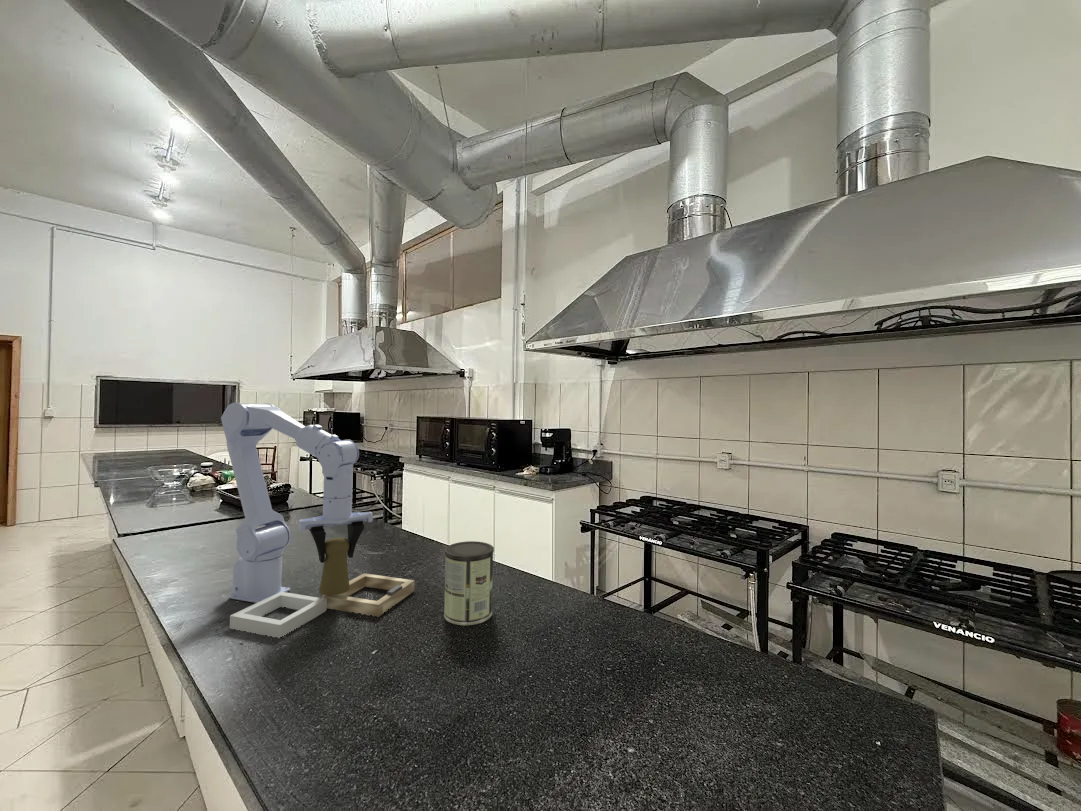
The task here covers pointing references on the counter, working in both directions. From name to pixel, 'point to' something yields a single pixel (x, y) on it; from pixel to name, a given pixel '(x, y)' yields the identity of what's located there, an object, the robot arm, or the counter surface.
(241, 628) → the white picture frame
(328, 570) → the cork
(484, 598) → the coffee can
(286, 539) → the robot arm
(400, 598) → the wooden square frame
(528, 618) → the counter surface
